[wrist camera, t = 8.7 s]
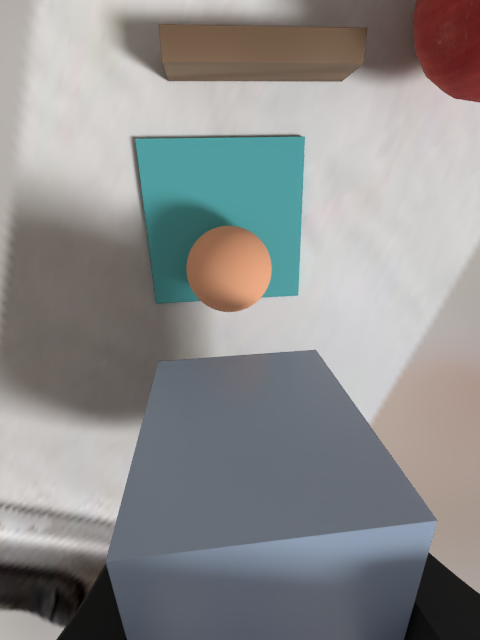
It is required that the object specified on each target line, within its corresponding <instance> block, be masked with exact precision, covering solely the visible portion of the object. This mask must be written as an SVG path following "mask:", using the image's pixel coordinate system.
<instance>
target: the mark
mask: <svg viewBox="0 0 480 640" xmlns="http://www.w3.org/2000/svg"><path fill="white" fill-rule="evenodd" d="M135 141H136V149H137V157H138V165H139V173H140V181H141V189H142V196H143V204H144V212H145V220H146V228H147V236H148V244H149V252H150V260H151V267H152V275H153V283H154V291H155V299H156V303H172V302H190V301H200V300H199V299H198V297H197V296H196V295H195V294H194V292H193V291H192V289H191V287H190V284H189V281H188V278H187V268H186V267H187V259H188V256H189V253H190V250H191V248H192V247H193V245H194V244H195V242H196V241H197V240H198V239H199V238H200V237H201V236H202V235H203V234H204V233H206V232H208V231H209V230H211V229H214V228H217V227H221V226H237V227H241V228H244V229H246V230H248V231H250V232H252V233H253V234H255V235H256V236H257V237H258V238H259V239H260V240H261V241H262V242H263V244H264V245H265V247H266V248H267V250H268V253H269V255H270V259H271V265H272V273H271V279H270V283H269V285H268V288H267V290H266V291H265V293H264V294H263V296H262V297H278V296H296V295H298V285H299V262H300V238H301V214H302V190H303V167H304V143H305V137H237V138H159V139H135Z"/></svg>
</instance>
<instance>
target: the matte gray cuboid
mask: <svg viewBox="0 0 480 640" xmlns="http://www.w3.org/2000/svg"><path fill="white" fill-rule="evenodd" d="M436 524H437V519H436V518H435V516H434V515H433V514H432V512H431V511H430V509H429V508H428V507H427V505H426V504H425V502H424V501H423V500H422V498H421V497H420V495H419V494H418V493H417V491H416V490H415V488H414V487H413V486H412V484H411V483H410V481H409V480H408V478H407V477H406V476H405V474H404V473H403V471H402V470H401V469H400V467H399V466H398V465H397V463H396V462H395V460H394V459H393V457H392V456H391V455H390V453H389V452H388V450H387V449H386V448H385V446H384V445H383V443H382V442H381V441H380V439H379V438H378V436H377V435H376V434H375V432H374V431H373V429H372V428H371V427H370V425H369V424H368V422H367V421H366V420H365V418H364V417H363V415H362V414H361V413H360V411H359V410H358V408H357V407H356V406H355V404H354V403H353V401H352V400H351V399H350V397H349V396H348V394H347V393H346V391H345V390H344V389H343V387H342V386H341V384H340V383H339V382H338V380H337V379H336V377H335V376H334V375H333V373H332V372H331V370H330V369H329V368H328V366H327V365H326V363H325V362H324V361H323V359H322V358H321V356H320V355H319V354H318V352H317V351H316V350H307V351H293V352H280V353H266V354H252V355H239V356H225V357H211V358H198V359H184V360H170V361H158V365H157V368H156V372H155V376H154V380H153V384H152V387H151V391H150V395H149V399H148V403H147V406H146V410H145V414H144V418H143V422H142V426H141V429H140V433H139V437H138V441H137V445H136V448H135V452H134V456H133V460H132V464H131V467H130V471H129V475H128V479H127V483H126V486H125V490H124V494H123V498H122V502H121V506H120V509H119V513H118V517H117V521H116V525H115V528H114V532H113V536H112V540H111V544H110V547H109V551H108V555H107V559H106V565H107V568H108V572H109V576H110V580H111V583H112V587H113V591H114V594H115V598H116V602H117V605H118V609H119V613H120V616H121V620H122V624H123V627H124V631H125V635H126V638H127V640H404V637H405V634H406V630H407V627H408V623H409V620H410V616H411V613H412V609H413V606H414V602H415V598H416V595H417V591H418V588H419V584H420V581H421V577H422V574H423V570H424V567H425V563H426V559H427V556H428V552H429V549H430V545H431V542H432V538H433V535H434V531H435V527H436Z"/></svg>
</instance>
